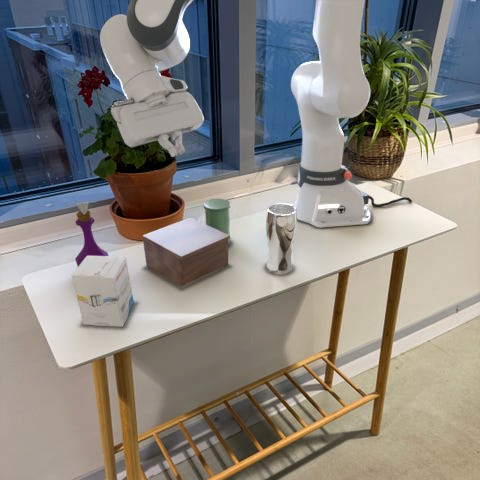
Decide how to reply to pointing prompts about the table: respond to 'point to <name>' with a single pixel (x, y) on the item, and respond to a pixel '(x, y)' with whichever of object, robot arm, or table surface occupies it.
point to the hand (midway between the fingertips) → (178, 154)
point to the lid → (186, 238)
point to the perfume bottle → (87, 234)
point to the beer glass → (280, 237)
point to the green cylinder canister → (218, 215)
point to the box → (186, 262)
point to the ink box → (103, 290)
